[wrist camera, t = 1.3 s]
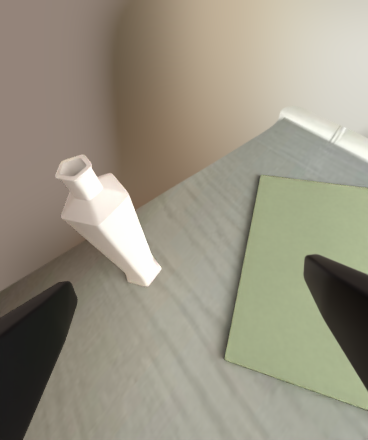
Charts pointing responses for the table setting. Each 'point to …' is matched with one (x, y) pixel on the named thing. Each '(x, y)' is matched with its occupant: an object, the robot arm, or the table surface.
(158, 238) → the table surface
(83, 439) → the table surface
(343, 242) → the mat
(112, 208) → the perfume bottle
